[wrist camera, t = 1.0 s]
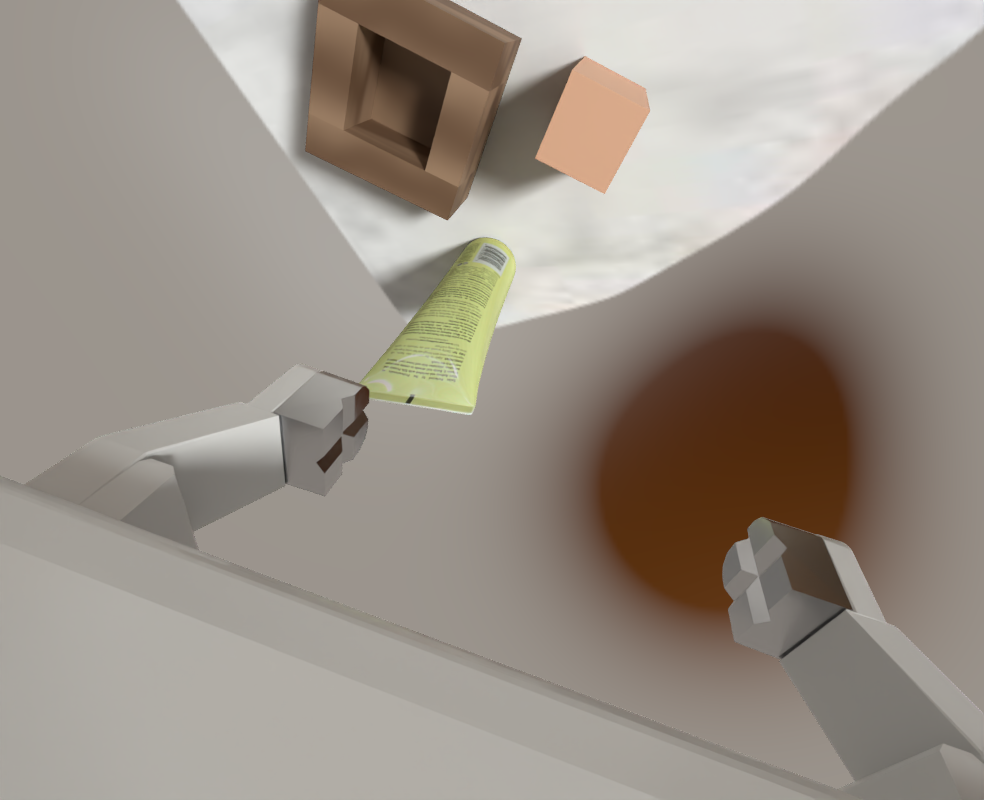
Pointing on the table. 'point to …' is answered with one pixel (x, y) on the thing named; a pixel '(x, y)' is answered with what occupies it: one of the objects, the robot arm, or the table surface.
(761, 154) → the table surface
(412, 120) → the socket block
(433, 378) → the tube
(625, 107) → the peg
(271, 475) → the robot arm
